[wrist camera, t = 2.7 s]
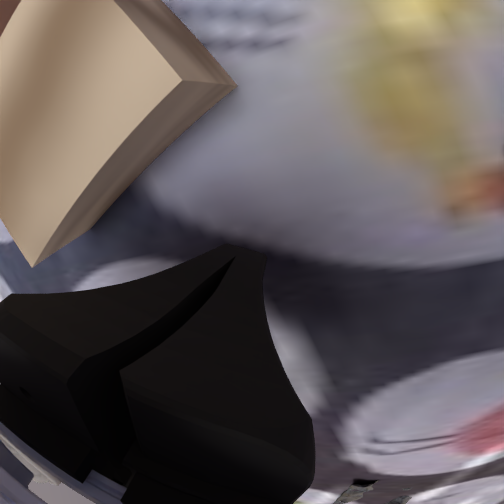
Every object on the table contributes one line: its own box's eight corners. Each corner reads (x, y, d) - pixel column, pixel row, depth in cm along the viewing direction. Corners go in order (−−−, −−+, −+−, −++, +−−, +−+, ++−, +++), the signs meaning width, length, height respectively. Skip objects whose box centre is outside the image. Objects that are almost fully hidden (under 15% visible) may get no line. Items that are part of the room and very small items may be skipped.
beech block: (240, 86, 9) (182, 80, 6) (93, 227, 13) (32, 267, 10) (132, -30, 8) (60, -55, 4) (25, 120, 12) (-39, 138, 8)
